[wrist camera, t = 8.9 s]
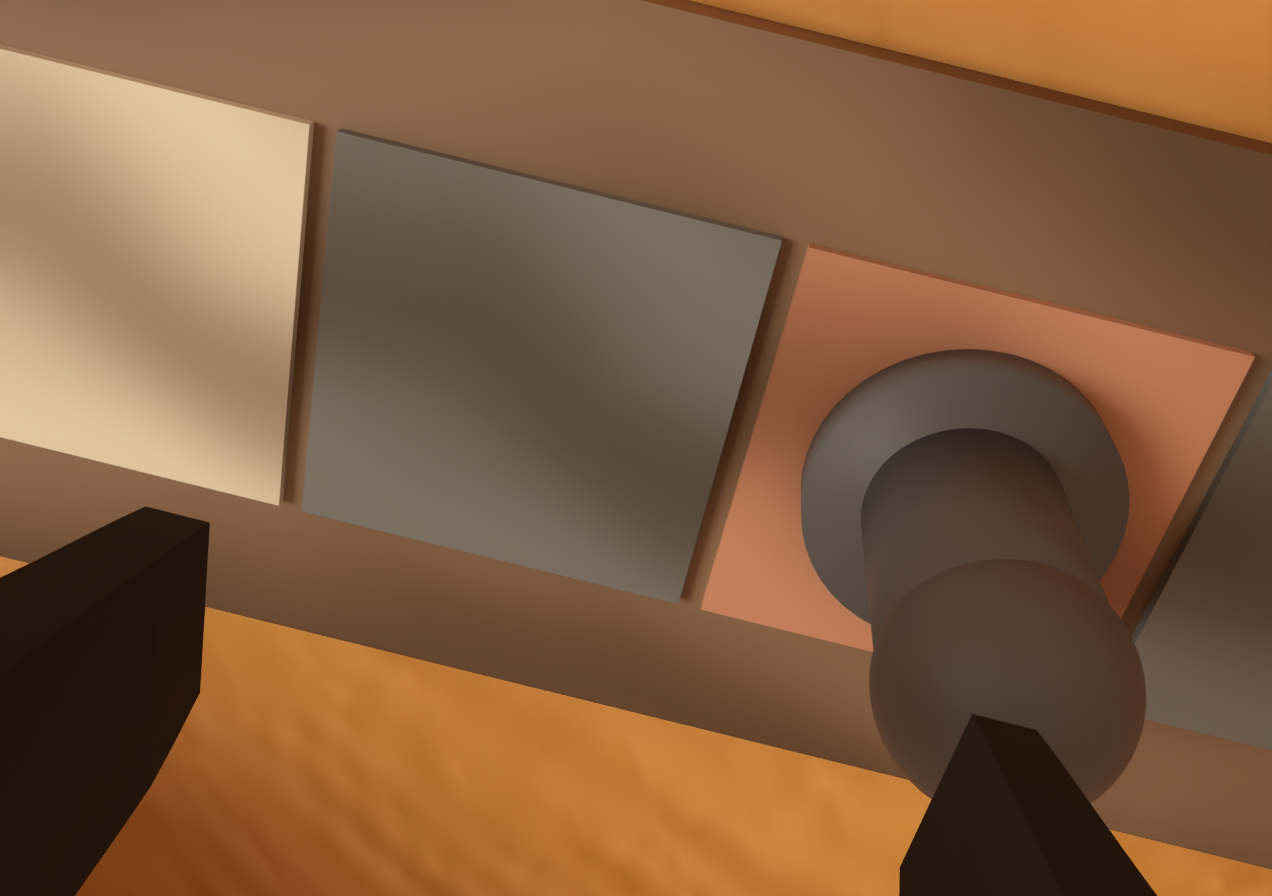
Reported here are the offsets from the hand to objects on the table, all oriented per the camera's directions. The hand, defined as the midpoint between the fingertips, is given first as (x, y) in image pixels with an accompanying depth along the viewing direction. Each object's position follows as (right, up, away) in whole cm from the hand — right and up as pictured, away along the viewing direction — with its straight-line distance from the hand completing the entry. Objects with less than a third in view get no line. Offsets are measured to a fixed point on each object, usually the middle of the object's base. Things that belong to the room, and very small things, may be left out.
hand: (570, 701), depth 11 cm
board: (+2, +3, +9) cm, 9 cm away
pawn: (+6, +2, +8) cm, 10 cm away
